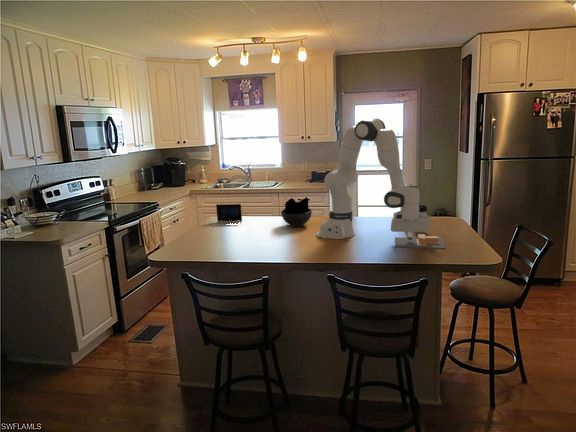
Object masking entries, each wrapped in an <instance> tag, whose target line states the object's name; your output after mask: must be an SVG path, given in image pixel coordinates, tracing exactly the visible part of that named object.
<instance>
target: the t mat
mask: <svg viewBox="0 0 576 432" xmlns="http://www.w3.org/2000/svg"><path fill="white" fill-rule="evenodd" d="M394 244H395V245H394V246H395V248H397V249H398V248H399V249H402V248H403V249H404V248H405V249H441V250H443V249H445V250H446V249H447V247H446V245H445V242H444V239H443V238H442V237H439V244H434V243H426V245H419V242H418V237H413V240H407V237H401V236H399V237H394Z"/></svg>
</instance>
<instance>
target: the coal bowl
mask: <svg viewBox="0 0 576 432" xmlns="http://www.w3.org/2000/svg"><path fill="white" fill-rule="evenodd" d="M284 206H285V207H284V209H282V210H281V211H280V214H281V217H282V219H283V221H284V222H285V223H287V225H290V226H292V227H300V226H303V225H305V224H307V222H309V220H310V219H311V217H312V213H313V210H312V209H310V207H309V198H308V197H307V196H305V197H304V198H303V199H301V200H300V201H297V202H296V200H295V199H294V198H293V197H291V198H290V199H288V201H286V202H285V203H284Z"/></svg>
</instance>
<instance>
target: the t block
mask: <svg viewBox="0 0 576 432" xmlns="http://www.w3.org/2000/svg"><path fill="white" fill-rule="evenodd" d="M417 238H418V242H419V245H426V243H434V244H439V238H440V237H439V236H438V235H436V236H434V235H433V236H432V235H426V233H425V234H424V233H418V234H417Z"/></svg>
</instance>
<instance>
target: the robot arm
mask: <svg viewBox="0 0 576 432" xmlns="http://www.w3.org/2000/svg"><path fill="white" fill-rule="evenodd" d="M364 141H365V142H374V143H375V146H376V153H377V158H378V161H379V164H380V165H381V167H383V168H385V169H386V170H387V172H388V175H389V180H390V184H391V185H390V186H391V189H390V190H389V191H388V192H386V193H385V194H384V196H383V202H384V204H385V206H387V207H388V208H390V209H397V208H401V210H399V211H397V212H396V211H395V212H393V214H392V216H393V217H392V219H391V222H390V223H391V224H390V231H391V232H392V233H393V232H397V233H399V232H400V233H404V235H405V237H406V238H407V240H413V238H414V236H415V235H416V233H429V232H430V231H431V225H430V223H431V221H432V217H431V215H428V214H426V215H419V206H420V197H421V196H420V188H419V187H418V186H417V185H415V184H412V183H405V184H404V182H403V181H404V180H403V175H402V170H401V169H402V168H401V164H400V162H401V161H400V151H399V150H400V149H399V143H398V138H397V136H396V133H395V131H394V130H392V129H390V128H389V129H388V128H386V125H385V123H384V121H383V120H382V119H379V118H367V119H362V120H360V121H359V122H357V124H356V125H352V126H349V127H347V128H346V130H345V132H344V135H343V137H342V139H341V144H340V146H339V150H338V154H337V159H338V162H339V163H338V164H339V165H338V169H334V170H331V171H329V172H328V173H327V174H326V175H324V181H323V182H324V186H326V188H327V189H328V190H329V193H330V196H331V201H332V203H331V204H332V210H330V211H329V212H328V213H329V214H328V217H329V218H328V219H326V220H325V221H323V222H322V224H320V228H319V230H318V231H317V232H316V235H315V237H317V238H319V237H321V239H334V240H335V239H337V240H343V239H347V238H352V237H354V236H355V235H356V234H355V231H354V227H353V217H354V215H353V211H352V197H351V196H350V195H349V192H348V187H351V186H352V185H354V184H355V183H356V182H357V181H358V178H359V175H358V172H357V162H358V159H359V155H360V151H361V148H362V144H363V143H364ZM408 233H411V235H408Z"/></svg>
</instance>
